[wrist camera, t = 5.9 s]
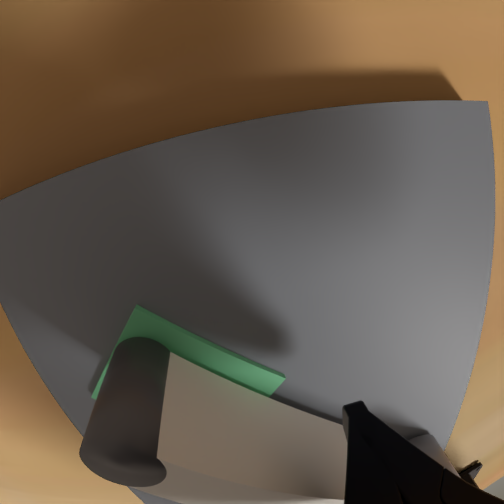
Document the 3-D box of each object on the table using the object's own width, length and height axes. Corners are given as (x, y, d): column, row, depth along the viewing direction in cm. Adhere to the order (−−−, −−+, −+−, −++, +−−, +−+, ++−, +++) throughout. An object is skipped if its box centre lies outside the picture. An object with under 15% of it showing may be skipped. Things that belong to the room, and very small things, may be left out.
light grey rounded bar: (444, 438, 12) (476, 486, 9) (399, 476, 13) (423, 525, 9) (141, 303, 8) (105, 407, 4) (97, 379, 8) (64, 473, 5)
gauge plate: (433, 442, 15) (443, 458, 13) (170, 510, 14) (170, 529, 13) (464, 102, 8) (491, 101, 7) (-11, 207, 8) (-36, 217, 6)
